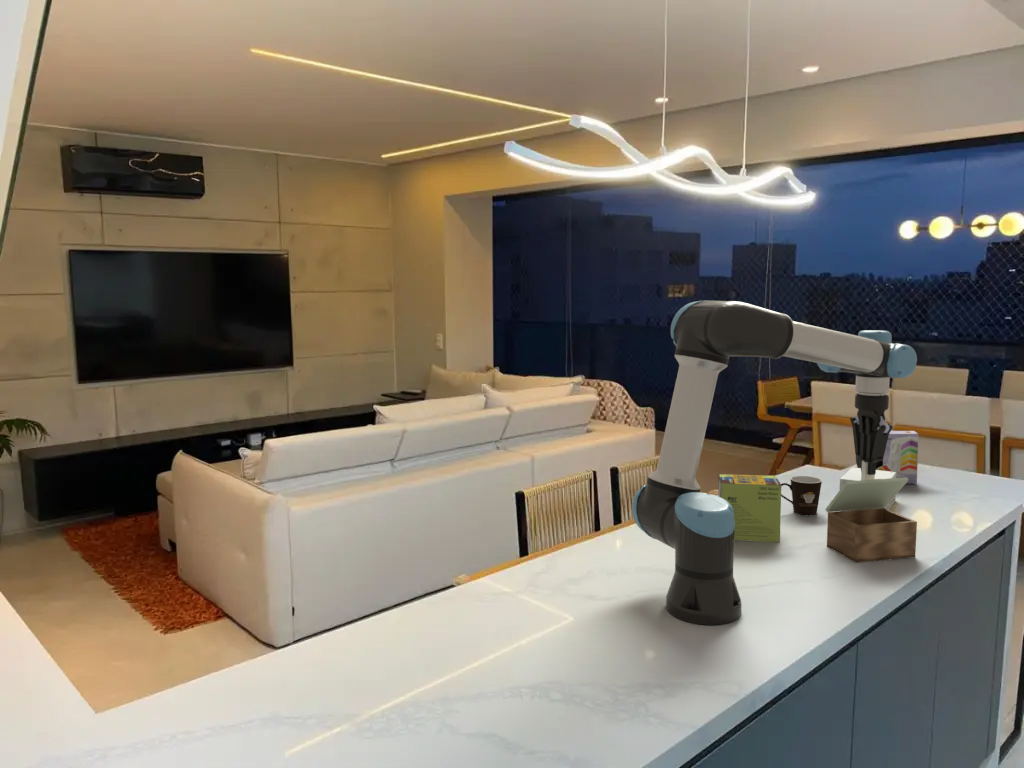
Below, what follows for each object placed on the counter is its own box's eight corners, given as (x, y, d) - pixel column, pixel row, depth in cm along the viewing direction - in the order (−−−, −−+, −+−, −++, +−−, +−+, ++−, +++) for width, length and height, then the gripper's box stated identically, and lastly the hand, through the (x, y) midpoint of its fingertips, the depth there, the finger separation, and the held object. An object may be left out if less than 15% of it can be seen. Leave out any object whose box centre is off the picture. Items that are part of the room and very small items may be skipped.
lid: (847, 484, 181) (846, 481, 182) (826, 512, 190) (825, 509, 191) (908, 480, 184) (906, 477, 184) (885, 507, 193) (883, 504, 194)
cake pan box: (856, 483, 252) (858, 432, 250) (852, 480, 257) (854, 429, 255) (917, 485, 249) (920, 433, 246) (912, 481, 254) (914, 430, 251)
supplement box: (850, 495, 238) (851, 466, 237) (895, 501, 231) (897, 471, 230) (838, 508, 225) (839, 477, 224) (886, 514, 217) (887, 483, 216)
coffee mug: (823, 510, 222) (824, 478, 220) (817, 518, 214) (818, 484, 213) (782, 505, 228) (783, 473, 227) (776, 512, 221) (776, 479, 219)
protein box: (780, 542, 195) (782, 484, 193) (719, 539, 198) (720, 482, 196) (775, 530, 205) (776, 475, 203) (717, 527, 208) (717, 473, 206)
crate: (856, 562, 179) (857, 526, 178) (826, 546, 191) (827, 512, 190) (915, 557, 182) (917, 521, 181) (882, 541, 194) (884, 508, 193)
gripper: (903, 396, 178) (898, 492, 181) (868, 389, 190) (864, 479, 193) (875, 397, 176) (870, 494, 179) (842, 390, 189) (838, 480, 192)
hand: (867, 486), depth 186 cm, fingers closed
